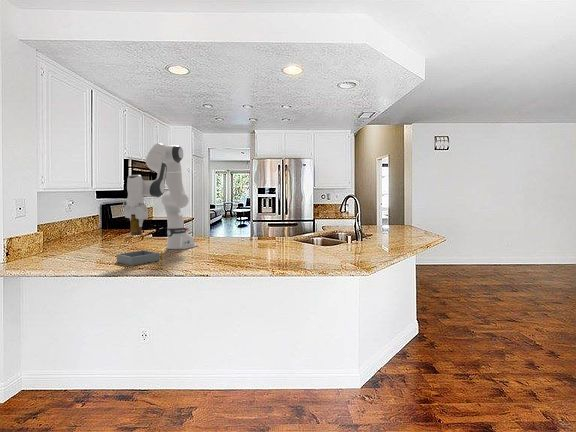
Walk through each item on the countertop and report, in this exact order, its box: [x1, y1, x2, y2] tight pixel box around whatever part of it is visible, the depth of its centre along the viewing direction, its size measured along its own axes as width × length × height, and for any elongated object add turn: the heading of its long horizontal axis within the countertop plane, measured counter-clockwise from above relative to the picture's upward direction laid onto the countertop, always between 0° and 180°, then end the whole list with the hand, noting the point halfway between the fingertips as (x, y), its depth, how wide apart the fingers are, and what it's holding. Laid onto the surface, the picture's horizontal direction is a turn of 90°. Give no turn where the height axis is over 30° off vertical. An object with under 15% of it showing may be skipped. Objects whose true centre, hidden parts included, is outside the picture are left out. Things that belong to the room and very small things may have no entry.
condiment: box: [129, 214, 146, 236], centre depth 251 cm, size 7×8×12 cm
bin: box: [116, 249, 160, 267], centre depth 254 cm, size 18×17×5 cm
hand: (136, 226), depth 252 cm, fingers closed on condiment, 6 cm apart
